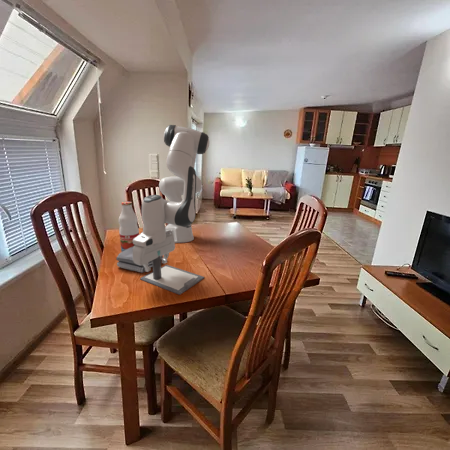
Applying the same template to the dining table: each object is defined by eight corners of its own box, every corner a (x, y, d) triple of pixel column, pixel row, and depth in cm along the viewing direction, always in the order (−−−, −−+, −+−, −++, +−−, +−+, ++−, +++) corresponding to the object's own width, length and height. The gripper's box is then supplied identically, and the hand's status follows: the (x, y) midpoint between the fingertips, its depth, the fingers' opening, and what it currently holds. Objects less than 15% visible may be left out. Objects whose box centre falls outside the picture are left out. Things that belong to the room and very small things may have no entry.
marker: (151, 278, 105) (149, 250, 102) (157, 274, 108) (155, 247, 105) (157, 280, 103) (155, 252, 100) (163, 277, 106) (162, 249, 103)
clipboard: (140, 279, 106) (139, 275, 105) (166, 265, 119) (166, 262, 118) (179, 294, 95) (179, 290, 94) (204, 278, 108) (204, 274, 108)
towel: (115, 269, 115) (114, 253, 113) (140, 254, 132) (139, 240, 130) (143, 274, 110) (142, 258, 108) (165, 259, 127) (165, 244, 125)
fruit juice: (142, 251, 136) (138, 200, 128) (137, 258, 127) (133, 204, 119) (125, 250, 136) (120, 200, 128) (118, 257, 127) (113, 204, 119)
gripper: (167, 228, 111) (168, 256, 115) (128, 241, 94) (131, 274, 98) (177, 230, 108) (178, 260, 111) (140, 244, 91) (143, 278, 95)
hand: (156, 266), depth 104 cm, fingers open, 8 cm apart
